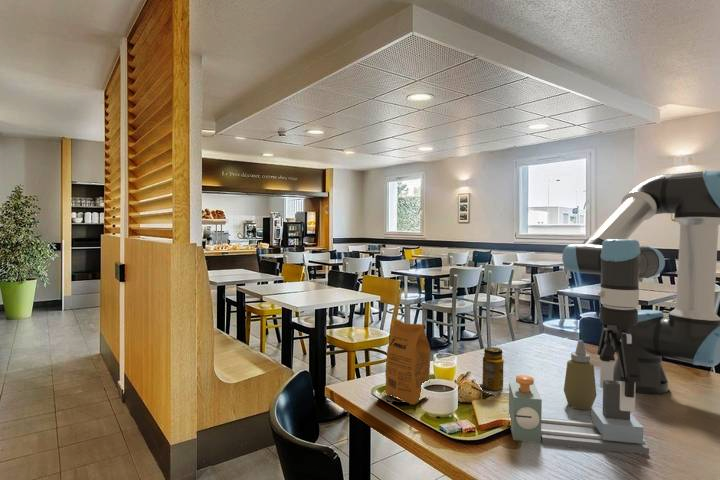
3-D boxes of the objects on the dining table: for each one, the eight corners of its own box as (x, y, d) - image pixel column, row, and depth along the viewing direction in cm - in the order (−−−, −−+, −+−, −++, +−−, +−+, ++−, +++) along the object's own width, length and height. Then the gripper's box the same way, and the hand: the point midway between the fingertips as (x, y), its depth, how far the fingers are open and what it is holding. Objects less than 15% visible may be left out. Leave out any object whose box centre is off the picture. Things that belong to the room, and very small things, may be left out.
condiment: (509, 389, 133) (509, 350, 132) (490, 395, 128) (491, 354, 128) (490, 382, 139) (490, 344, 138) (471, 387, 134) (471, 348, 134)
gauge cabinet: (533, 423, 110) (534, 383, 110) (541, 443, 100) (542, 400, 99) (508, 420, 111) (509, 382, 111) (513, 441, 101) (514, 398, 101)
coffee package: (402, 386, 135) (403, 315, 134) (434, 398, 126) (435, 322, 125) (379, 394, 128) (379, 320, 128) (411, 408, 119) (411, 327, 118)
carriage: (627, 425, 105) (628, 377, 105) (643, 443, 96) (644, 391, 96) (591, 421, 107) (592, 374, 106) (603, 439, 98) (604, 388, 97)
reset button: (532, 389, 107) (532, 375, 107) (534, 395, 103) (535, 381, 103) (514, 388, 108) (514, 374, 108) (516, 394, 104) (517, 380, 104)
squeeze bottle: (595, 414, 115) (596, 346, 114) (561, 407, 119) (562, 342, 119) (597, 403, 122) (598, 339, 121) (565, 397, 126) (566, 335, 126)
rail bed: (629, 431, 106) (629, 422, 106) (648, 454, 95) (649, 445, 95) (534, 422, 111) (534, 414, 110) (542, 443, 100) (542, 434, 100)
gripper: (585, 297, 113) (583, 378, 114) (619, 316, 89) (617, 419, 90) (617, 298, 112) (615, 381, 112) (661, 318, 87) (658, 423, 88)
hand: (616, 398), depth 101 cm, fingers open, 13 cm apart
